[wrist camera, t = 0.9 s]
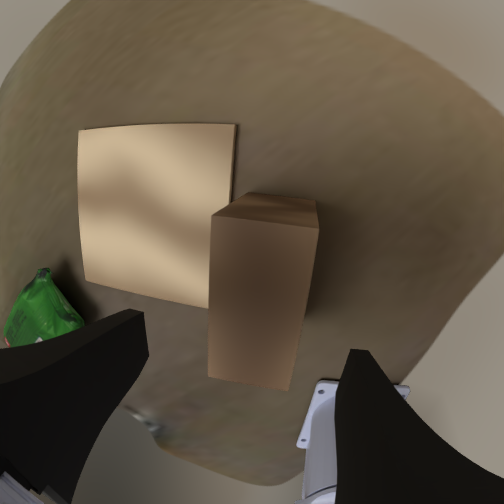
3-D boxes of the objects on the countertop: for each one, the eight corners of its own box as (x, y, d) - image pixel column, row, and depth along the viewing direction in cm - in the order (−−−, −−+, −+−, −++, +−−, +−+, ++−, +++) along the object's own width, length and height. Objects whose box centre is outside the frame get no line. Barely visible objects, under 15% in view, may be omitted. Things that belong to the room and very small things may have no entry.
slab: (315, 200, 17) (319, 228, 10) (296, 318, 20) (288, 390, 13) (248, 192, 17) (211, 215, 11) (239, 309, 20) (207, 376, 14)
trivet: (224, 307, 20) (222, 311, 20) (89, 278, 22) (85, 280, 21) (236, 125, 16) (234, 124, 16) (83, 130, 18) (78, 130, 18)
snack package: (110, 316, 23) (75, 348, 18) (54, 365, 28) (30, 388, 23) (64, 252, 22) (22, 272, 17) (21, 319, 27) (-6, 339, 22)
